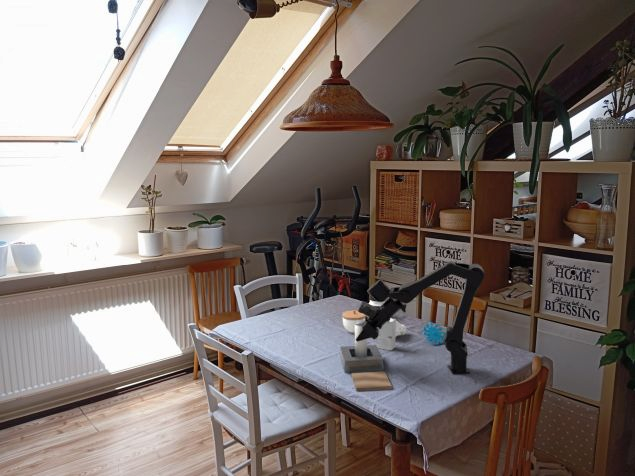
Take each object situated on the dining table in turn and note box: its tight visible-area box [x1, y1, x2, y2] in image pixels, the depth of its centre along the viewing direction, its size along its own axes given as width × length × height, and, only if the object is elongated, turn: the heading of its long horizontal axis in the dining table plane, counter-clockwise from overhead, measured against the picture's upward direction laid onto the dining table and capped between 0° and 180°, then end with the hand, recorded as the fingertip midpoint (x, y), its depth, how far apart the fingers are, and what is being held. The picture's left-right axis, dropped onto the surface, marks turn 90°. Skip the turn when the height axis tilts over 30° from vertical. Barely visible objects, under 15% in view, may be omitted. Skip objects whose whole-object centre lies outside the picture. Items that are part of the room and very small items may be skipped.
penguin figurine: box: [395, 320, 407, 338], centre depth 229 cm, size 6×8×12 cm
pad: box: [351, 371, 393, 392], centre depth 186 cm, size 12×12×1 cm
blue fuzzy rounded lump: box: [422, 322, 446, 346], centre depth 223 cm, size 11×6×10 cm
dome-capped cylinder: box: [354, 320, 368, 357], centre depth 200 cm, size 4×4×13 cm
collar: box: [339, 344, 384, 374], centre depth 201 cm, size 14×14×4 cm
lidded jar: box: [342, 309, 368, 334], centre depth 237 cm, size 11×11×9 cm
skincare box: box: [377, 317, 397, 351], centre depth 216 cm, size 6×4×12 cm
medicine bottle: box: [367, 294, 385, 317], centre depth 255 cm, size 7×7×12 cm
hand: (357, 338), depth 200 cm, fingers closed on dome-capped cylinder, 4 cm apart
